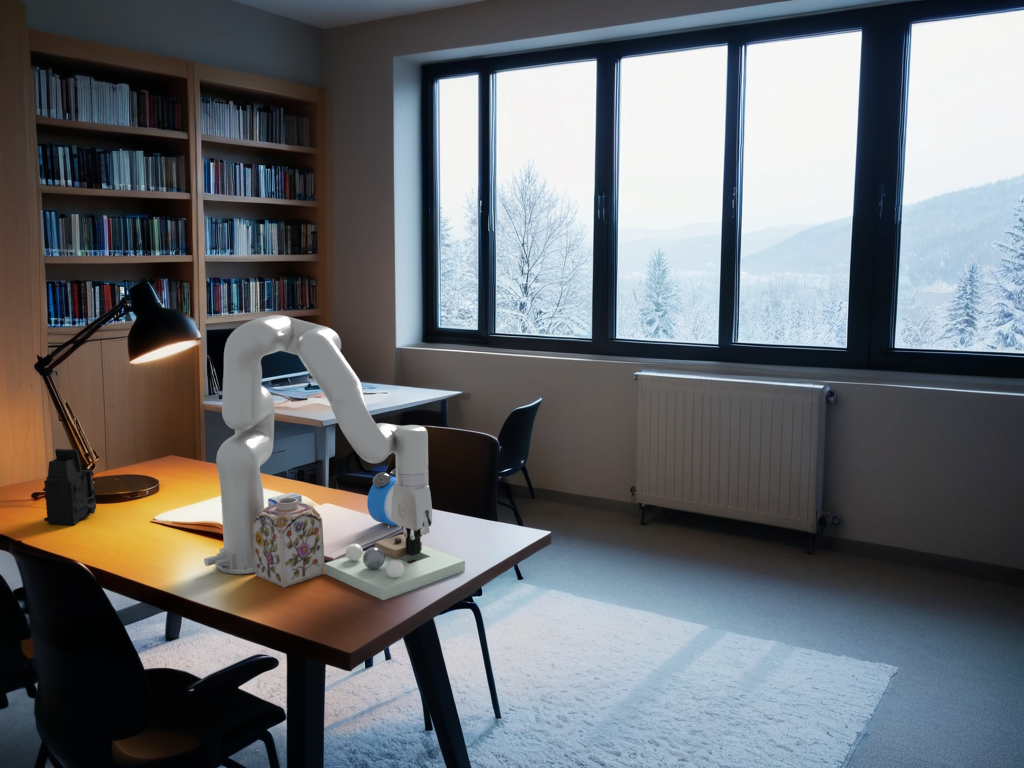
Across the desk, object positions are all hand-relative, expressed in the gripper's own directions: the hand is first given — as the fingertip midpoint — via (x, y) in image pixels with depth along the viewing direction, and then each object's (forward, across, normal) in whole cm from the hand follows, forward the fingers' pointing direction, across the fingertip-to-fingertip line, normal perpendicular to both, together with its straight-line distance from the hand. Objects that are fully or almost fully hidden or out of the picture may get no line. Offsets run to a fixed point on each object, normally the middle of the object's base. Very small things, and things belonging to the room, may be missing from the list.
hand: (413, 553), depth 203 cm
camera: (+4, -96, -42) cm, 105 cm away
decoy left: (-1, -8, -11) cm, 14 cm away
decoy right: (-1, +7, -11) cm, 13 cm away
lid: (+1, -6, 0) cm, 6 cm away
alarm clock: (+4, -30, +17) cm, 34 cm away
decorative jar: (+4, -17, -23) cm, 29 cm away
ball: (-2, -1, -11) cm, 11 cm away
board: (+3, -1, -5) cm, 6 cm away
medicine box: (+4, -48, -5) cm, 48 cm away
